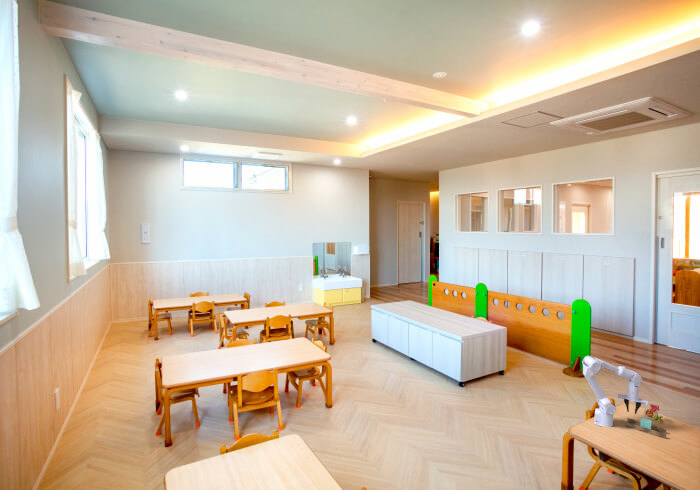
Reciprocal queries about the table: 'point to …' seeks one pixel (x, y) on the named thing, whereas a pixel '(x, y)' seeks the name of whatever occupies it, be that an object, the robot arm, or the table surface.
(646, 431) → the chute
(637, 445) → the table surface
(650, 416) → the bird rattle
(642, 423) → the block
